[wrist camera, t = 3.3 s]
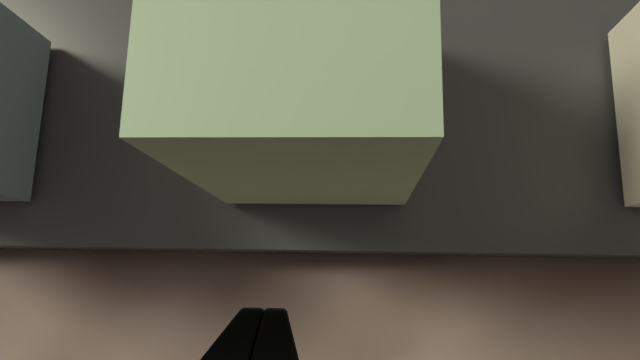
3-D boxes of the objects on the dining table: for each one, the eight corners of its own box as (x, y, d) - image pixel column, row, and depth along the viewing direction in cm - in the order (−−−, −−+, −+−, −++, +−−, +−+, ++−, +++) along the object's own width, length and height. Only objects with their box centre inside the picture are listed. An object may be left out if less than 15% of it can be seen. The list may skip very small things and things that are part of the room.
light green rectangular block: (404, 204, 17) (443, 136, 9) (226, 203, 17) (118, 137, 10) (402, 36, 18) (435, -150, 10) (235, 39, 19) (146, -138, 11)
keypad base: (802, 260, 17) (843, 258, 16) (-109, 246, 20) (-145, 243, 19) (750, -55, 20) (782, -82, 18) (-57, -33, 22) (-87, -55, 21)
